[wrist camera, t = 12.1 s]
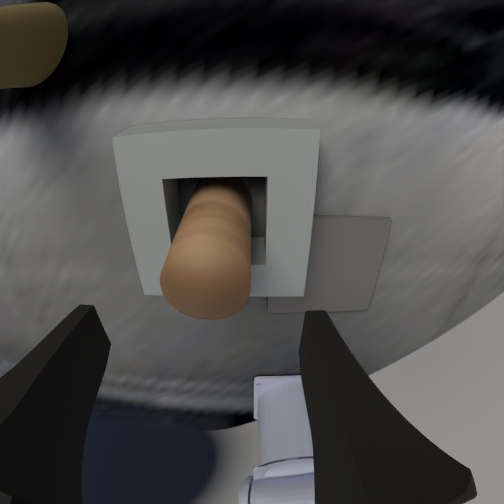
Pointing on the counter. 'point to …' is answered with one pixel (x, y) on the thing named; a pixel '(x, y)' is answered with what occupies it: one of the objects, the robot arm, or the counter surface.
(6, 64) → the olive pepper mill
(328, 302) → the pad
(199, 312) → the peg
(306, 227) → the socket
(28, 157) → the counter surface
